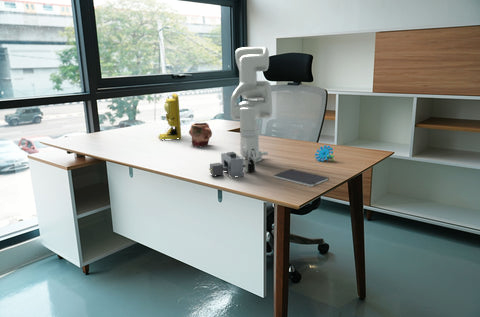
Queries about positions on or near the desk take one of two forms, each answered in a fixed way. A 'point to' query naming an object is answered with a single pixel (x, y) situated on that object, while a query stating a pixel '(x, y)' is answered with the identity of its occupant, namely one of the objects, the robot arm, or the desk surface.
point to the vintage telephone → (172, 118)
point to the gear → (324, 153)
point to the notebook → (301, 177)
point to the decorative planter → (200, 134)
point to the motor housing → (232, 163)
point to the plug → (218, 167)
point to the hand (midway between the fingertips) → (249, 169)
